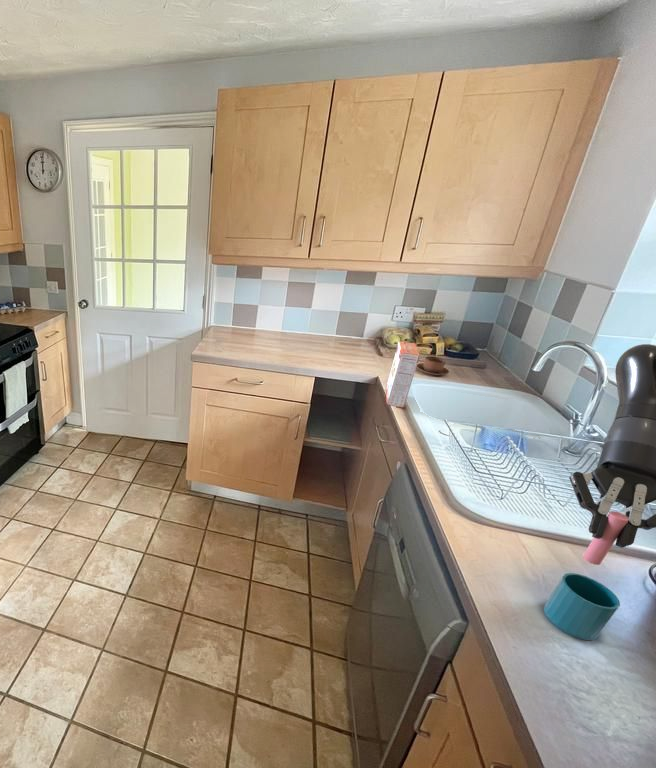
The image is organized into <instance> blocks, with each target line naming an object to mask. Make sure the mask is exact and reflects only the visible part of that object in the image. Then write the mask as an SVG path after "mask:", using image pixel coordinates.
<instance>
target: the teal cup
mask: <svg viewBox="0 0 656 768" xmlns="http://www.w3.org/2000/svg"><path fill="white" fill-rule="evenodd" d="M560 578H561V579H560V580H559V582H558V583H557V585H556V586H555V588H554V590H553V591H552V592H551V594H550V596H549V597H548V599H547V601H546V602H545V604H544V607H543V612H544V614H545V616H546V618H547V619H548V620H549V621H550V623H552V624H553V625H554V626H556V628H558V629H560V630H561V631H563V632H565V634H568V635H569V636H572V637H574V638H577V639H580V640H584V641H593V640H596V639H597V638H598V636H599V635H600V634H601V632H602V631H603V630H604V628H605V627H606V626H607V624H608V623H609V622H610V620H611V619H612V617H613V616H614V615H615V613H616V612H617V611H618V609H619V608H620V607H621V601H620V599H619V598H618V596H617V595H616V594H615V593H614V592H613V591H612V590H611V589H610V588H608V586H606V585H604V584H602V583H601V582H598V581H597V580H595V579H594V578H591V577H588V576H587V575H582V574H579V573H572V572H569V573H565V574H563V576H562V577H560Z"/></svg>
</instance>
